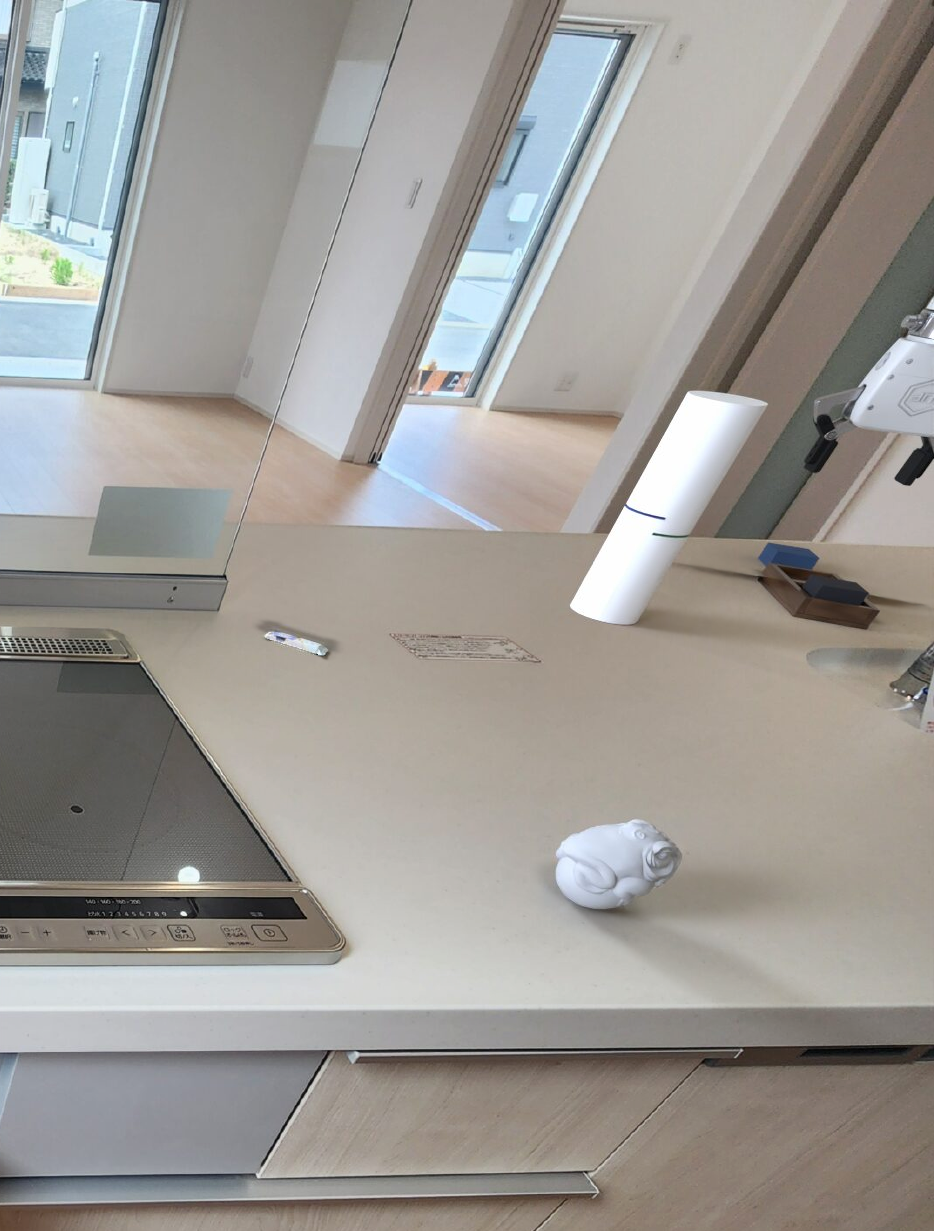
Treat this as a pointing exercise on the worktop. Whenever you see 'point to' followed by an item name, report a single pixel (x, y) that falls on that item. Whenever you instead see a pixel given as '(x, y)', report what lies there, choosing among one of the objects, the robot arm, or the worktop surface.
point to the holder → (813, 608)
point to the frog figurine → (615, 863)
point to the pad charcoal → (834, 590)
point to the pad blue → (788, 556)
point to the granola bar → (296, 642)
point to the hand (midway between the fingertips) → (855, 476)
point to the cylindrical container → (666, 504)
